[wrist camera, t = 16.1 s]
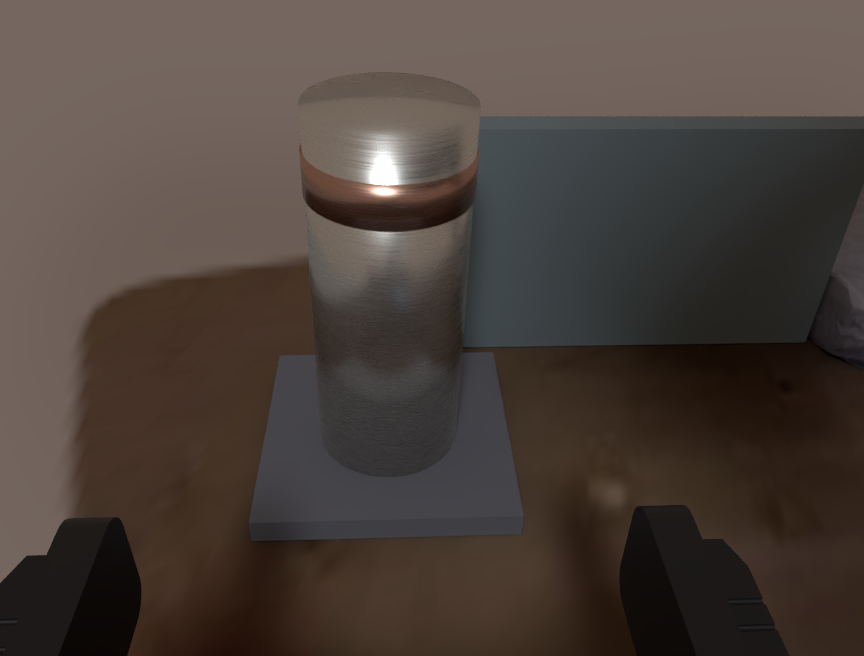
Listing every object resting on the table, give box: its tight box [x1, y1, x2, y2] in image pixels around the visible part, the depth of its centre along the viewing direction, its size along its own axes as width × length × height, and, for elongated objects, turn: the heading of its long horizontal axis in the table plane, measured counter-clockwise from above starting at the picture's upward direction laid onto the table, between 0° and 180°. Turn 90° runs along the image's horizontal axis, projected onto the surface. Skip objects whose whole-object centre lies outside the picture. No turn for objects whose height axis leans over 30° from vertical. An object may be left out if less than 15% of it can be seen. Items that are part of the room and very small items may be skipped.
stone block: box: [808, 184, 864, 369], centre depth 35 cm, size 12×5×10 cm
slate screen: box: [463, 117, 864, 347], centre depth 29 cm, size 14×1×9 cm, turn 93°
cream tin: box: [298, 72, 481, 477], centre depth 22 cm, size 5×5×11 cm
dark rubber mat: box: [249, 352, 524, 541], centre depth 26 cm, size 8×8×1 cm
